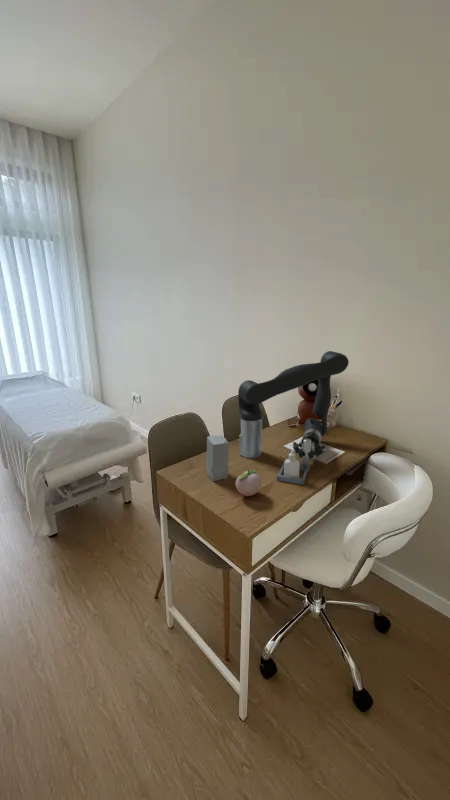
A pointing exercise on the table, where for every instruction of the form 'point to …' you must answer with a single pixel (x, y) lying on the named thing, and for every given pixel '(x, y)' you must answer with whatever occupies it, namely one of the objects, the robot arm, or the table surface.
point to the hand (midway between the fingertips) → (305, 456)
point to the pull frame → (304, 466)
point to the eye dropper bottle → (291, 466)
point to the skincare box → (217, 457)
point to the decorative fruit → (248, 483)
